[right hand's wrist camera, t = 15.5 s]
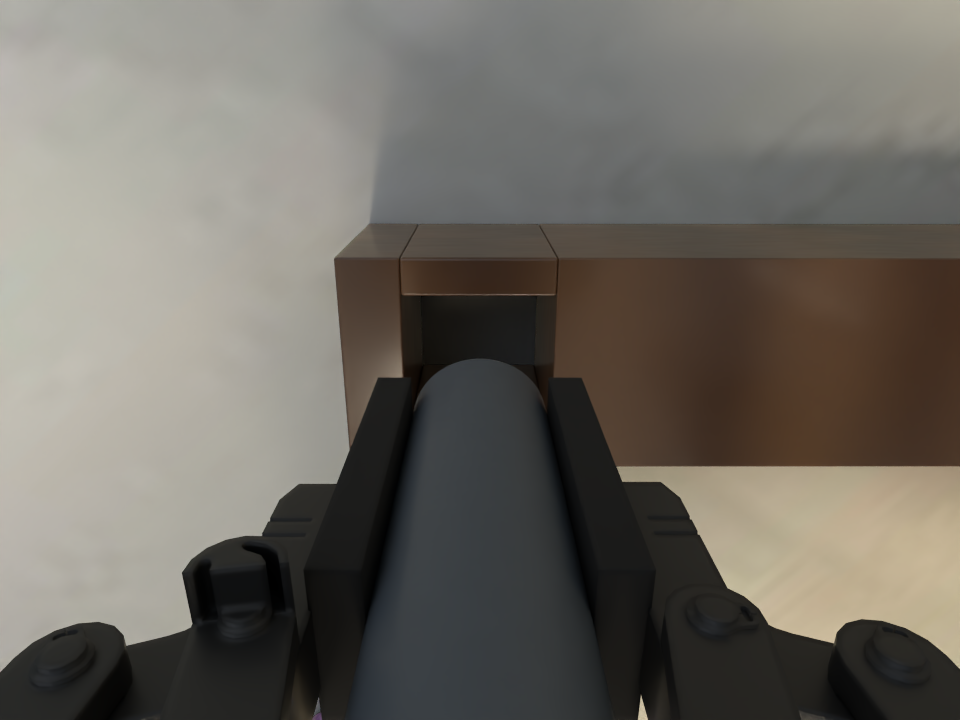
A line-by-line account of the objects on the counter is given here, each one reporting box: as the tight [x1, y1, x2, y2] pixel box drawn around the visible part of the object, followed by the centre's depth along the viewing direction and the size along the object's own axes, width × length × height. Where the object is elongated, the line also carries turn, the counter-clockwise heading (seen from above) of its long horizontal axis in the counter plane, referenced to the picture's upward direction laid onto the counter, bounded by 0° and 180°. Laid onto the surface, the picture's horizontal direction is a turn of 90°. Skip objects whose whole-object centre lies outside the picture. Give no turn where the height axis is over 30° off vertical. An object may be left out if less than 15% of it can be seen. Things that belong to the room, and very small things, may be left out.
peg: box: [344, 359, 615, 720], centre depth 10 cm, size 3×3×12 cm
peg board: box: [334, 224, 960, 466], centre depth 21 cm, size 28×7×6 cm, turn 90°
